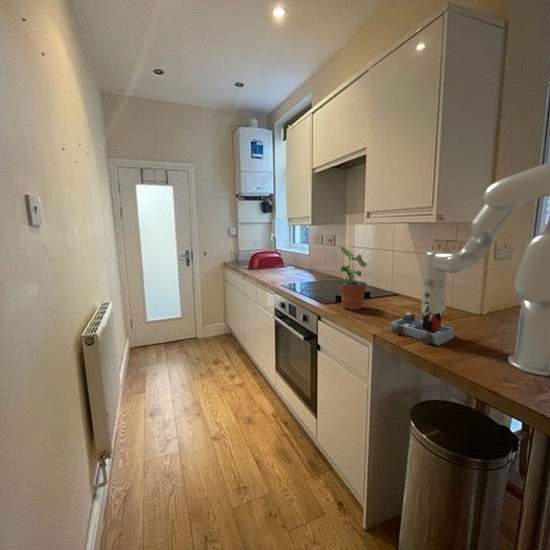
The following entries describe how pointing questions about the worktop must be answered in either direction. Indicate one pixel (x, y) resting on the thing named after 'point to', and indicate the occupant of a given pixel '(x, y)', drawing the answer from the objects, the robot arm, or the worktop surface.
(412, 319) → the spare wheel
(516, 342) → the robot arm
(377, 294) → the worktop surface
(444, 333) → the chassis
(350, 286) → the potted plant
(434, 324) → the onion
